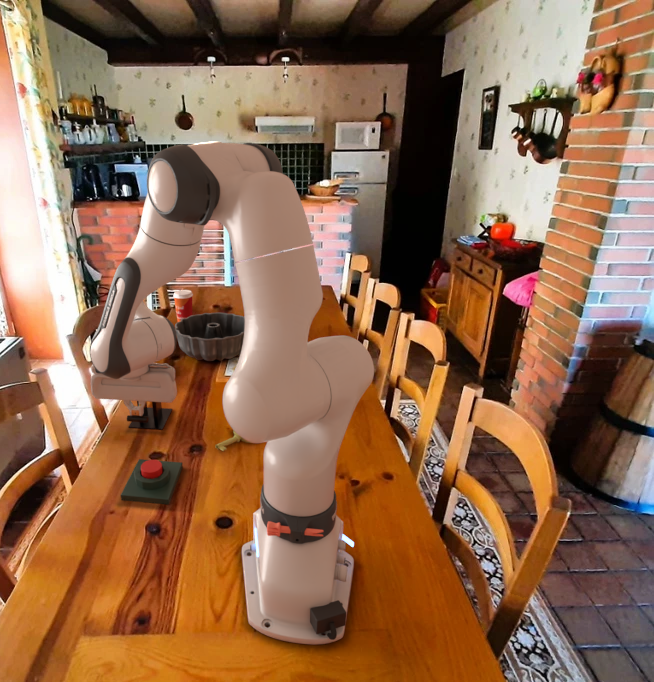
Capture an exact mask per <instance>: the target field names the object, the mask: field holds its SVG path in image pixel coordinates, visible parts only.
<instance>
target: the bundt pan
mask: <svg viewBox="0 0 654 682" xmlns="http://www.w3.org/2000/svg"><path fill="white" fill-rule="evenodd" d="M174 327H175V330H176V336H177V342H178V347H179V348H180V350H181V351H182V352H183V353H184V354H186V356H188V357H190V358H195V360H197V361H202V360H204V361H206V362H213V361H216V360H217V361H219V362H222V361H223V360H224V359H226V360H231V359H233V358H235V357H236V356H240V354H241V350H242V345H243V338H244V329H245V317H244V316H243V315H239V314H235V313H227V312H211V313H210V312H204V313H201V314H192V316H189V317H187V318H185V319H181V321H180V322H178V321H177V322H176V323H175V324H174Z"/></svg>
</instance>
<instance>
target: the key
mask: <svg viewBox="0 0 654 682" xmlns="http://www.w3.org/2000/svg"><path fill="white" fill-rule="evenodd" d="M232 430H233V429H232ZM232 432H233V437H230V438H228V439H226V440H223V441H221V442H219V443H217V444H215V449H217V450H220V451H222V452H225V451H227V450H228V448H227V446H230V445H231V444H234V443H240V441H242V442H244V443H248V444H252V443H251V442H249V441H247V440H245V439H243V438H242V437H241V436H239V435H238V434H237V433H236V432H235V431H234V430H233V431H232Z"/></svg>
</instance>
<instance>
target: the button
mask: <svg viewBox="0 0 654 682" xmlns="http://www.w3.org/2000/svg"><path fill="white" fill-rule="evenodd" d="M147 460H148V461H145V462H144V463H143V464H142V465H141V473H142V476H143V477H144V478H147V479H153V478H157V477H159V476H160V475H161V474H162V472H163V471H162V464H161V462H160V461H161V460H159V459H147Z"/></svg>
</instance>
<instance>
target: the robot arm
mask: <svg viewBox="0 0 654 682" xmlns="http://www.w3.org/2000/svg"><path fill="white" fill-rule="evenodd" d="M146 190H147V193H146V196H145V199H144V204H143V208H142V213H141V218H140V223H139V228H138V231H137V235H136V238H135V240H134V242H133V244H132V246H131V248H130V250H129V251H128V253H127V255H126V256H125V257H124V259H123V260H122V261H121V262H120V263H119V264H118V266H117V268H116V270H115V272H114V275H113V278H112V281H111V283H110V288H109V290H108V295H107V298H106V301H105V304H104V308H103V311H102V316H101V318H100V322H99V324H98V327H97V329H96V331H95V333H94V334H93V337H92V339H91V341H90V345H89V357H90V361H91V363H92V365H91V367H90V370H91V373H92V374H91V376H90V392H91V396H92V397H94V399H96V400H114V401H115V400H116V401H123V405H125V407H126V409H128V410H129V415H131V416H142V415H143V413H144V410H143V407H144V405H145V403H146V401H147V403H148V402H151V403H152V402H161V403H165V404H166V403H167V404H168V403H169V404H170V403H173V402H174V400H175V399H176V397H177V396H178V387H177V383H176V379H177V374H176V369H175V368H174V366H171V365H169V363H157V362H159V361H161V360H164V359H166V358H168V357H169V356H172V355H173V354H174V353H175V351H176V348H177V342H178V339H177V335H176V330H175V324H174V323H173V322H172V321H171V320H170V319H169V318H167V317H166V316H164V315H163V314H159V313H156V312H154V311H153V310H152V309H150V308H149V307H148V306H147V305H146V304H145V302H144V300H145V299H146V298H147V297H148V296H150V295H151V294H152V293H154V292H155V291H157V290H159V289H160V288H161V287H163V286H165V285H167V284H169V283H171V282H172V281H174V280H176V279H178V278H180V277H181V276H184V275H185V274H186V273H187V272H188V271H189V270H190V269H191V267H192V266H193V265H194V262H195V261H196V259H197V257H198V254H199V251H200V247H201V243H202V239H203V235H204V230H205V226H206V225H207V224H208V223H209V221H215V222H218V223H220V224H221V225H222V226H223V227H224V228H225V229H226V232H227V233H228V236H229V239H230V243H231V249H232V256H233V260H234V261H233V262H234V265H235V269H236V274H237V279H238V284H239V289H240V294H241V300H242V307H243V315H244V317H245V329H244V338H243V345H242V350H241V354H240V355H239V358H238V361H237V363H236V366H235V368H234V370H233V372H232V374H231V376H230V377H229V379H228V380H227V381H226V383H225V385H224V388H223V392H222V410H223V414H224V417H225V419H226V421H227V423H228V426H230V428H231V429H232V430H234V431H235V432H236V433H237V434H238V435H239V436H241V437H242V438H243V439H245V440H247V441H249V442H251V443H250V444H262V443H266V444H265V447H264V450H263V455H262V456H263V484H262V485H261V489H260V490H261V491H260V497H259V498H260V500H259V501H260V502H259V504H260V507H259V508H258V509H256V510H255V511H254V512H253V513H252V518H253V519H252V522H253V525H252V526H253V528H252V529H253V532H252V533H253V534H252V535H253V537H252V539H253V540H250V541H248V542H245V543H244V544H243V545H242V547H241V562H242V572H243V580H244V581H243V582H244V583H243V584H244V593H245V603H246V614H247V621H248V624H249V625H250V627H252V628H253V629H254V630H256V631H257V632H259V633H261V634H263V635H265V636H267V637H270V638H272V639H275V640H279V641H284V642H287V643H288V642H289V643H294V644H301V645H325V644H330V643H334V642H336V641H339V640H341V639H343V637H344V635H345V630H346V624H347V617H348V611H349V603H350V597H351V590H352V583H353V576H354V568H355V559H354V557H353V556H352V555H351V554H349V552H346V548H347V544H348V545H349V546H350V547H352V548H354V546H355V542H354V541H353V540H352V539H350V538H349V537H348V536H346V535H345V534H344V521H343V520H342V519H341V518H340V517H339V516H338V515H337V511H338V501H337V493H336V490H335V483H336V473H337V464H338V463H337V462H338V457H339V453H340V449H341V447H342V443H343V440H344V438H345V435H346V432H347V429H348V427H349V424H350V423H351V419H352V417H353V415H354V412H355V410H356V408H357V406H358V404H359V402H360V400H361V398H362V397H363V395H364V394H365V393H366V391H367V390H368V389H369V387H370V385H371V384H372V382H373V380H374V376H375V366H374V361H373V358H372V356H371V354H370V352H369V351H368V349H367V348H366V346H365V345H364V344H363V343H362V342H360V341H359V340H358V339H356V338H355V337H352V336H350V335H331V336H324V337H323V336H322V337H318V338H315V339H312V340H310V341H309V334H310V329H311V325H312V323H313V321H314V318H315V317H316V315H317V313H318V312H319V310H320V308H321V307H322V304H323V300H324V299H323V298H324V291H323V288H322V283H321V278H320V272H319V267H318V262H317V257H316V252H315V251H316V250H315V246H314V245H313V244H314V241H313V239H312V238H313V237H312V233H311V230H310V229H311V228H310V225H309V222H308V218H307V215H306V212H305V211H306V210H305V209H304V206H303V203H302V200H301V198H300V195H299V193H298V191H297V188H296V187H295V184H294V182H293V180H292V179H291V178H290V177H289V176H288V175H286V174H285V173H283V167H282V164H281V161H280V159H279V158H278V155H277V154H276V153H275V152H274V151H273V150H272V149H270V148H268V147H267V146H264V145H262V144H259V143H254V142H244V143H239V142H238V143H236V142H222V141H206V142H198V143H197V142H196V143H191V144H176V145H172V146H169V147H167V148H164V149H161V150H160V151H158V152H157V153H156V154H155V155H153V158H152V159H151V161H150V163H149V167H148V169H147V174H146ZM132 401H135V402H137V401H138V402H139V404H141V406H137V405H134V403H133V402H132Z"/></svg>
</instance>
